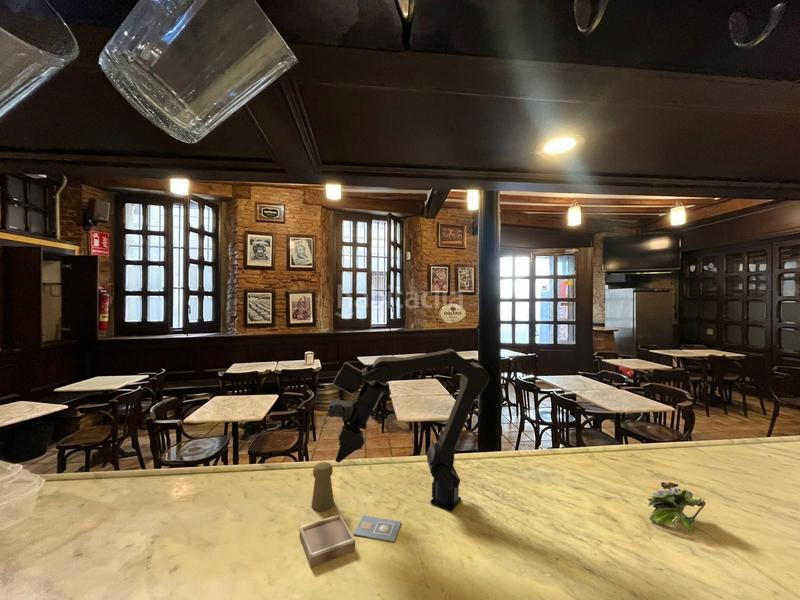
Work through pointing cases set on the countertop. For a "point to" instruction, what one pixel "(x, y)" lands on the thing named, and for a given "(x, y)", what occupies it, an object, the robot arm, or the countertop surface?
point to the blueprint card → (378, 528)
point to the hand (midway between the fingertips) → (338, 453)
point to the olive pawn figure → (322, 487)
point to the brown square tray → (326, 540)
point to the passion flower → (673, 506)
